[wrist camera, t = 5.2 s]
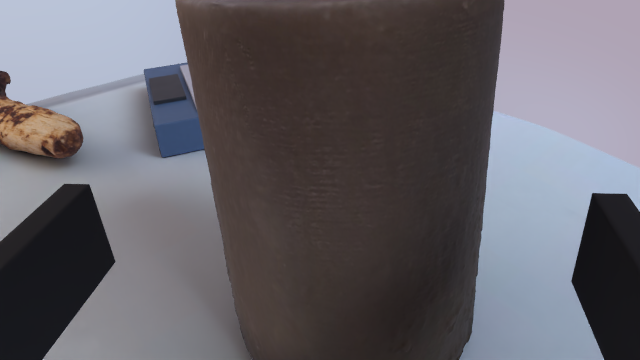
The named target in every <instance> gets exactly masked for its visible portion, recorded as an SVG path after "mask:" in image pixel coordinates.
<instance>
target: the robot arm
mask: <svg viewBox="0 0 640 360" xmlns="http://www.w3.org/2000/svg"><path fill="white" fill-rule="evenodd" d="M114 263H115V259H114V256H113V253H112V250H111V247H110V244H109V241H108V238H107V235H106V232H105V229H104V226H103V223H102V221H101V218H100V215H99V212H98V209H97V206H96V203H95V200H94V197H93V194H92V191H91V188H90V185H89V184H64V185H63V186H62V187H60V188H59V189H58V190H57V191H56V192H55V193H54V194H53V195H52V196H50V197H49V198H48V199H47V200H46V201H45V202H44V203H43V204H42V205H40V206H39V207H38V208H37V209H36V210H35V211H34V212H33V213H32V214H30V215H29V216H28V217H27V218H26V219H25V220H24V221H23V222H22V223H20V224H19V225H18V226H17V227H16V228H15V229H14V230H13V231H12V232H10V233H9V234H8V235H7V236H6V237H5V238H4V239H3V240H2V241H0V360H42V359H43V358H44V356H45V355H46V354H47V352H48V351H49V350H50V348H51V347H52V346H53V344H54V343H55V342H56V340H57V339H58V338H59V336H60V335H61V334H62V332H63V331H64V330H65V328H66V327H67V326H68V324H69V323H70V322H71V320H72V319H73V318H74V316H75V315H76V314H77V312H78V311H79V310H80V308H81V307H82V306H83V304H84V303H85V302H86V300H87V299H88V298H89V296H90V295H91V294H92V292H93V291H94V290H95V288H96V287H97V286H98V284H99V283H100V282H101V280H102V279H103V278H104V276H105V275H106V274H107V272H108V271H109V270H110V268H111V267H112V266H113V264H114ZM572 284H573V286H574V289H575V291H576V293H577V296H578V298H579V301H580V303H581V305H582V308H583V310H584V312H585V315H586V317H587V320H588V322H589V324H590V327H591V329H592V331H593V334H594V336H595V339H596V341H597V343H598V346H599V348H600V351H601V353H602V355H603V358H604V360H640V212H639V210H638V209H637V207H636V206H635V205H634V203H633V202H632V200H631V199H630V198H629V196H628V195H627V194H600V193H592V197H591V201H590V206H589V210H588V214H587V218H586V222H585V227H584V231H583V235H582V239H581V243H580V247H579V252H578V256H577V260H576V264H575V268H574V272H573V277H572Z"/></svg>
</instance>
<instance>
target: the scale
mask: <svg viewBox="0 0 640 360" xmlns="http://www.w3.org/2000/svg"><path fill="white" fill-rule="evenodd" d="M144 75H145V80H146V85H147V91H148V96H149V101H150V107H151V112H152V117H153V123H154V128H155V132H156V136H157V140H158V144H159V148H160V152H161V156H162V157H168V156H173V155H178V154H183V153H187V152H192V151H197V150H202V149H204V144H203V137H202V132H201V128H200V123H199V117H198V112H197V108H196V103H195V98H194V93H193V87H192V80H191V76H190V72H189V67H188V63H182V64H176V65H170V66H164V67H157V68H151V69H144Z"/></svg>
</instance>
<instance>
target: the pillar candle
mask: <svg viewBox="0 0 640 360" xmlns="http://www.w3.org/2000/svg"><path fill="white" fill-rule="evenodd" d="M176 8H177V14H178V18H179V23H180V28H181V33H182V38H183V42H184V47H185V51H186V56H187V62H188V67H189V72H190V76H191V80H192V87H193V93H194V98H195V103H196V108H197V112H198V117H199V123H200V128H201V132H202V137H203V144H204V149H205V154H206V158H207V162H208V167H209V172H210V176H211V185H212V190H213V195H214V201H215V206H216V211H217V216H218V220H219V225H220V230H221V234H222V240H223V245H224V254H225V259H226V266H227V271H228V276H229V280H230V283H231V288H232V294H233V298H234V304H235V309H236V313H237V316H238V318H239V323H240V328H241V332H242V335H243V338H244V341H245V344H246V347H247V349H248V351H249V353H250V355H251V357H252V359H253V360H459V358H460V356H461V354H462V352H463V348H464V346H465V344H466V343H467V342H468V341H469V339H470V335H471V333H472V323H473V310H474V301H475V292H476V290H475V287H476V276H477V274H478V258H479V247H480V241H481V231H482V224H483V208H484V200H485V192H486V177H487V168H488V157H489V150H490V136H491V124H492V116H493V107H494V97H495V87H496V80H497V71H498V62H499V53H500V44H501V34H502V23H503V10H504V0H176Z"/></svg>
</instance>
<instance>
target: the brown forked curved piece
mask: <svg viewBox="0 0 640 360" xmlns="http://www.w3.org/2000/svg"><path fill="white" fill-rule="evenodd" d="M10 81H11V80H10V76H9V75H8V73H7V72H3V71H0V144H1V145H3V146H5V147H7V148H9V149H11V150H20V151H26V152H29V153H32V154H36V155H44V156H49V157H54V158H65V157H70V156H72V155H74V154H75V153H76V152H77V151H78V150H79V149H80V147H81V146H82V143H83V135H82V132H81V129H80V126H79V124H78V123H76V122H75V121H74V120H72V119H71V118H69V117H66V116H64V115H61V114H58V113H56V112H54V111H52V110H49V109H46V108H42V107H37V106H28V105H25V104H23V103H21V102H18V101H12V100H10V99H9V98H8V97H6V93H5V89H6V85H7V84H10Z"/></svg>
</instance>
